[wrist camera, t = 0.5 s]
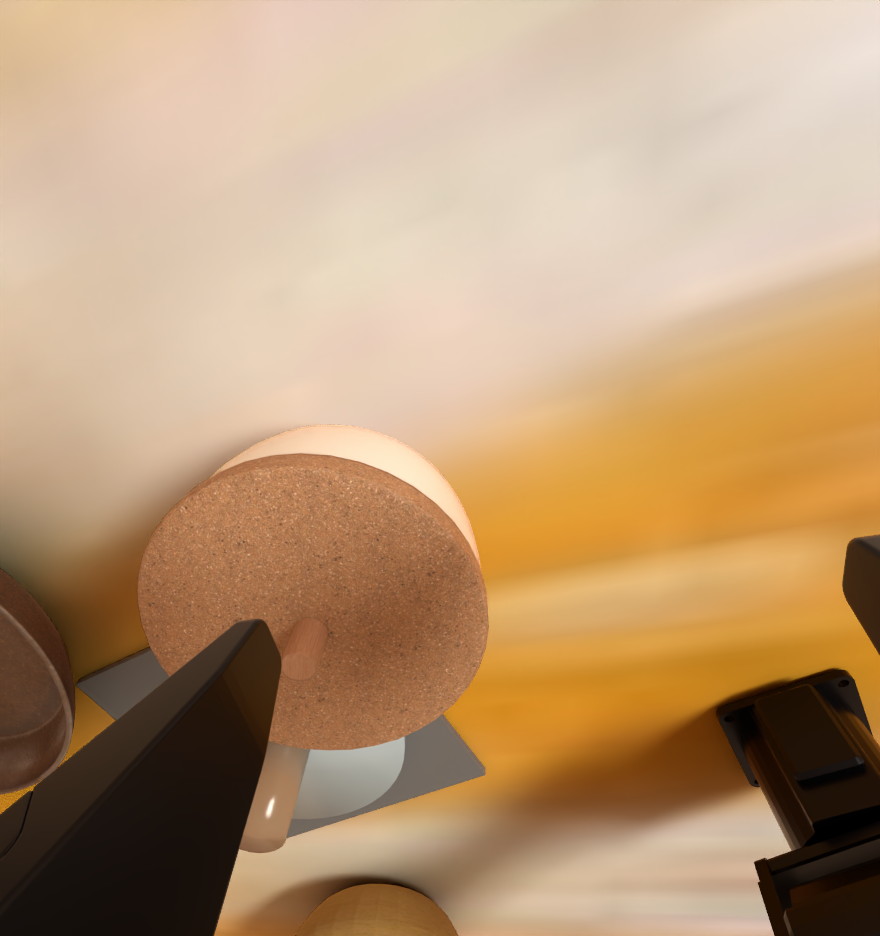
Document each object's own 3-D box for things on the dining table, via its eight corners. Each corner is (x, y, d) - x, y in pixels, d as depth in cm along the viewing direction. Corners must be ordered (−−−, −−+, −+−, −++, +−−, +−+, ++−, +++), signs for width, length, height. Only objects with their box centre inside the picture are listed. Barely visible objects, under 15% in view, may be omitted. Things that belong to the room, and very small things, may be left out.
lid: (449, 766, 31) (446, 872, 26) (265, 827, 34) (232, 931, 30) (315, 604, 26) (282, 698, 21) (116, 693, 30) (48, 792, 25)
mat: (485, 768, 32) (485, 774, 31) (262, 839, 36) (260, 846, 35) (325, 565, 26) (323, 570, 25) (80, 678, 30) (75, 685, 29)
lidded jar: (230, 593, 26) (119, 775, 17) (229, 368, 22) (79, 463, 13) (457, 624, 26) (458, 818, 18) (500, 409, 22) (529, 527, 13)
